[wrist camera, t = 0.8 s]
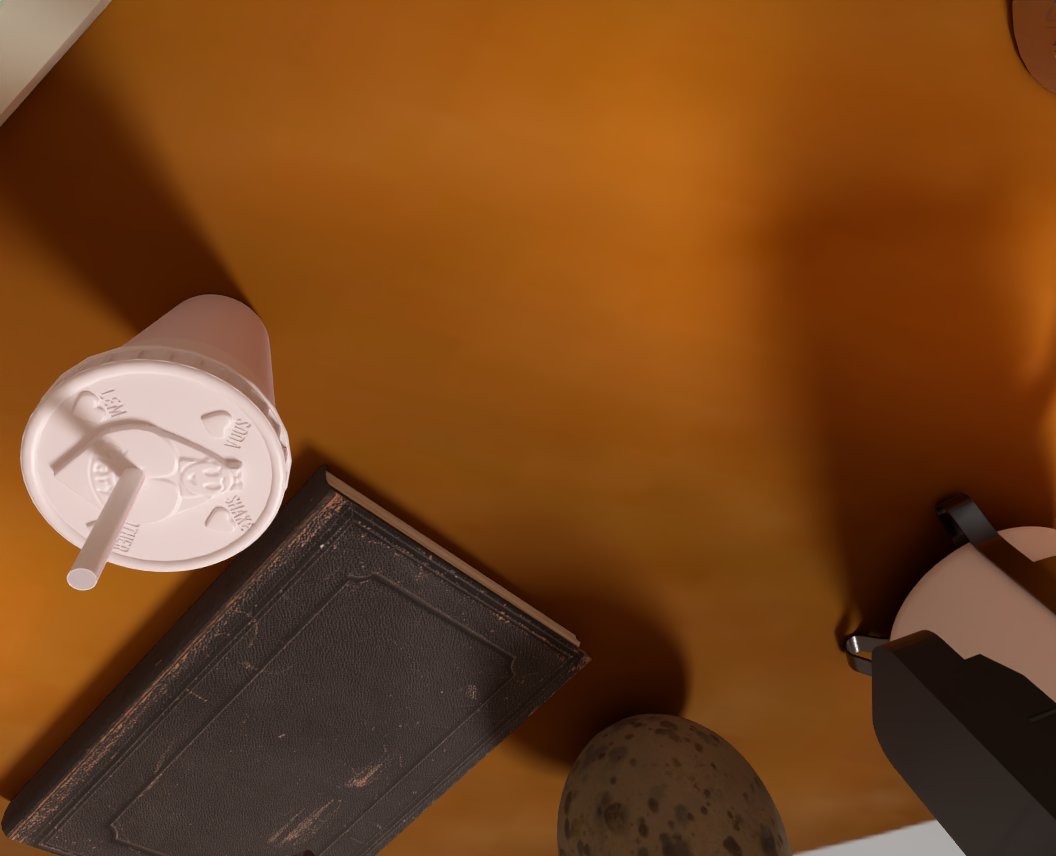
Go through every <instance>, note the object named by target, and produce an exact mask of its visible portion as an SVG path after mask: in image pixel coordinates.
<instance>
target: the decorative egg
mask: <svg viewBox="0 0 1056 856" xmlns="http://www.w3.org/2000/svg"><path fill="white" fill-rule="evenodd" d="M557 842H558V854H559V856H792V852H791V848H790V844H789V841H788V837H787V834H786V831H785V828H784V826H783V823H782V820H781V818H780V815H779V813H778V811H777V808H776V806H775V804H774V802H773V800H772V798H771V796H770V794H769V793H768V791H767V789H766V787H765V786H764V784H763V782H762V781H761V779H760V778H759V776H758V775H757V773H756V772H755V771H754V769H753V768H752V767H751V765H750V764H749V763H748V762H747V761H746V759H745V758H744V757H743V756H742V755H741V754H740V753H739V752H738V751H737V750H736V749H735V748H734V747H733V746H732V745H731V744H729V743H728V742H727V741H726V740H724V739H723V738H722V737H720V736H719V735H717V734H716V733H714V732H713V731H711V730H709V729H708V728H706V727H704V726H702V725H700V724H698V723H696V722H693V721H690V720H688V719H685V718H682V717H678V716H673V715H667V714H651V713H650V714H641V715H635V716H631V717H628V718H625V719H623V720H620V721H618V722H616V723H614V724H612V725H610V726H609V727H607V728H605V729H604V730H603V731H601V732H599V733H597V734H596V735H595V736H594V737H593V738H592V739H591V740H590V741H589V743H588V744H587V745H586V746H585V748H584V749H583V750H582V752H581V753H580V755H579V756H578V758H577V759H576V761H575V763H574V765H573V767H572V769H571V771H570V773H569V775H568V778H567V780H566V783H565V786H564V789H563V793H562V796H561V801H560V806H559V812H558V824H557Z"/></svg>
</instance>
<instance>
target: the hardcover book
mask: <svg viewBox="0 0 1056 856" xmlns="http://www.w3.org/2000/svg"><path fill="white" fill-rule="evenodd" d="M326 469H327V465H322V466H321V467H320V468H319V469H318V470H317V472H316V473H315V474H314V475H313V476H312V477H311V478H310V479H309V480H308V481H307V482H306V483H305V484H304V486H303V487H302V488H301V489H300V490H299V491H298V492H297V493H296V494H295V495H294V496H293V497H292V498H291V500H290V501H289V502H288V503H287V504H286V505H285V506H284V507H283V508H282V509H281V510H280V511H279V512H278V514H277V515H276V516H275V518H274V519H273V521H272V522H271V524H270V525H269V526H268V528H267V529H266V530H265V531H264V532H263V534H262V535H261V536H260V537H259V538H258V539H257V540H255V541H254V542H253V543H252V544H251V545H249V546H248V547H247V548H245V549H244V550H243V551H242V552H241V553H240V555H239V556H238V557H237V558H236V559H235V560H234V561H233V562H232V563H231V564H230V565H229V566H228V567H227V569H226V570H225V571H224V572H223V573H222V574H221V575H220V576H219V577H218V578H217V579H216V580H215V581H214V583H213V584H212V585H211V586H210V587H209V588H208V589H207V590H206V591H205V592H204V593H203V594H202V596H201V597H200V598H199V599H198V600H197V601H196V602H195V603H194V604H193V605H192V606H191V607H190V608H189V610H188V611H187V612H186V613H185V614H184V615H183V616H182V617H181V618H180V619H179V620H178V621H177V622H176V624H175V625H174V626H173V627H172V628H171V629H170V630H169V631H168V632H167V633H166V634H165V635H164V636H163V638H162V639H161V640H160V641H159V642H158V643H157V644H156V645H155V646H154V647H153V648H152V649H151V651H150V652H149V653H148V654H147V655H146V656H145V657H144V658H143V659H142V660H141V661H140V662H139V663H138V665H137V666H136V667H135V668H134V669H133V670H132V671H131V672H130V673H129V674H128V675H127V676H126V677H125V679H124V680H123V681H122V682H121V683H120V684H119V685H118V686H117V687H116V688H115V689H114V690H113V692H112V693H111V694H110V695H109V696H108V697H107V698H106V699H105V700H104V701H103V702H102V703H101V704H100V706H99V707H98V708H97V709H96V710H95V711H94V712H93V713H92V714H91V715H90V716H89V717H88V718H87V720H86V721H85V722H84V723H83V724H82V725H81V726H80V727H79V728H78V729H77V730H76V731H75V733H74V734H73V735H72V736H71V737H70V738H69V739H68V740H67V741H66V742H65V743H64V744H63V745H62V747H61V748H60V749H59V750H58V751H57V752H56V753H55V754H54V755H53V756H52V757H51V758H50V759H49V761H48V762H47V763H46V764H45V765H44V766H43V767H42V768H41V769H40V770H39V771H38V772H37V773H36V775H35V776H34V777H33V778H32V779H31V780H30V781H29V782H28V783H27V784H26V785H25V786H24V788H23V789H22V790H21V791H20V792H19V793H18V794H17V795H16V796H15V797H14V798H13V799H12V800H11V802H10V804H9V806H8V807H7V809H6V811H5V813H4V816H3V819H2V822H1V825H2V830H3V832H4V833H5V835H6V836H7V837H8V838H9V839H11V840H14V841H17V842H20V843H23V844H27V845H30V846H33V847H36V848H39V849H42V850H45V851H48V852H51V853H54V854H58V855H61V856H291V855H294V854H297V853H300V852H302V851H305V850H310V851H312V852H313V853H314V855H315V856H375V855H376V854H377V853H378V852H379V851H381V850H382V849H383V848H384V847H385V846H386V845H387V844H388V843H389V842H391V841H392V840H393V839H394V838H395V837H396V836H397V835H398V834H399V833H401V832H402V831H403V830H404V829H405V828H406V827H407V826H408V825H409V824H410V823H412V822H413V821H414V820H415V819H416V818H417V817H418V816H419V815H420V814H422V813H423V812H424V811H425V810H426V809H427V808H428V807H429V806H430V805H432V804H433V803H434V802H435V801H436V800H437V799H438V798H439V797H440V796H442V795H443V794H444V793H445V792H446V791H447V790H448V789H449V788H450V787H452V786H453V785H454V784H455V783H456V782H457V781H458V780H459V779H460V778H462V777H463V776H464V775H465V774H466V773H467V772H468V771H469V770H470V769H472V768H473V767H474V766H475V765H476V764H477V763H478V762H479V761H480V760H481V759H483V758H484V757H485V756H486V755H487V754H488V753H489V752H490V751H491V750H493V749H494V748H495V747H496V746H497V745H498V744H499V743H500V742H501V741H503V740H504V739H505V738H506V737H507V736H508V735H509V734H510V733H511V732H513V731H514V730H515V729H516V728H517V727H518V726H519V725H520V724H521V723H523V722H524V721H525V720H526V719H527V718H528V717H529V716H530V715H531V714H533V713H534V712H535V711H536V710H537V709H538V708H539V707H540V706H541V705H543V704H544V703H545V702H546V701H547V700H548V699H549V698H550V697H551V696H552V695H554V694H555V693H556V692H557V691H558V690H559V689H560V688H561V687H562V686H564V685H565V684H566V683H567V682H568V681H569V680H570V679H571V678H572V677H574V676H575V675H576V674H577V673H578V672H579V671H580V670H581V669H582V668H584V667H585V666H586V665H587V664H588V663H589V662H590V661H591V660H592V656H591V655H590V654H588V653H587V652H585V651H584V650H582V649H581V648H579V645H580V642H579V641H578V640H576V635H574V634H573V633H571V632H570V631H568V630H566V629H565V628H563V627H562V626H560V625H559V624H557V623H556V622H554V621H553V620H551V619H550V618H548V617H547V616H545V615H544V614H542V613H541V612H539V611H538V610H536V609H535V608H533V607H532V606H530V605H529V604H527V603H526V602H524V601H523V600H521V599H520V598H518V597H517V596H515V595H514V594H512V593H511V592H509V591H508V590H506V589H504V588H503V587H501V586H500V585H498V584H497V583H495V582H494V581H492V580H491V579H489V578H488V577H486V576H485V575H483V574H482V573H480V572H479V571H477V570H476V569H474V568H473V567H471V566H470V565H468V564H467V563H465V562H464V561H462V560H461V559H459V558H458V557H456V556H455V555H453V554H452V553H450V552H449V551H447V550H446V549H444V548H442V547H441V546H439V545H438V544H436V543H435V542H433V541H432V540H430V539H429V538H427V537H426V536H424V535H423V534H421V533H420V532H418V531H417V530H415V529H414V528H412V527H411V526H409V525H408V524H406V523H405V522H403V521H402V520H400V519H399V518H397V517H396V516H394V515H393V514H391V513H390V512H388V511H387V510H385V509H384V508H382V507H380V506H379V505H377V504H376V503H374V502H373V501H371V500H370V499H368V498H367V497H365V496H364V495H362V494H361V493H359V492H358V491H356V490H355V489H353V488H352V487H350V486H349V485H347V484H346V483H344V482H343V481H341V480H340V479H338V478H337V477H335V476H334V475H332V474H331V473H329V472H328V471H326Z"/></svg>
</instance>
